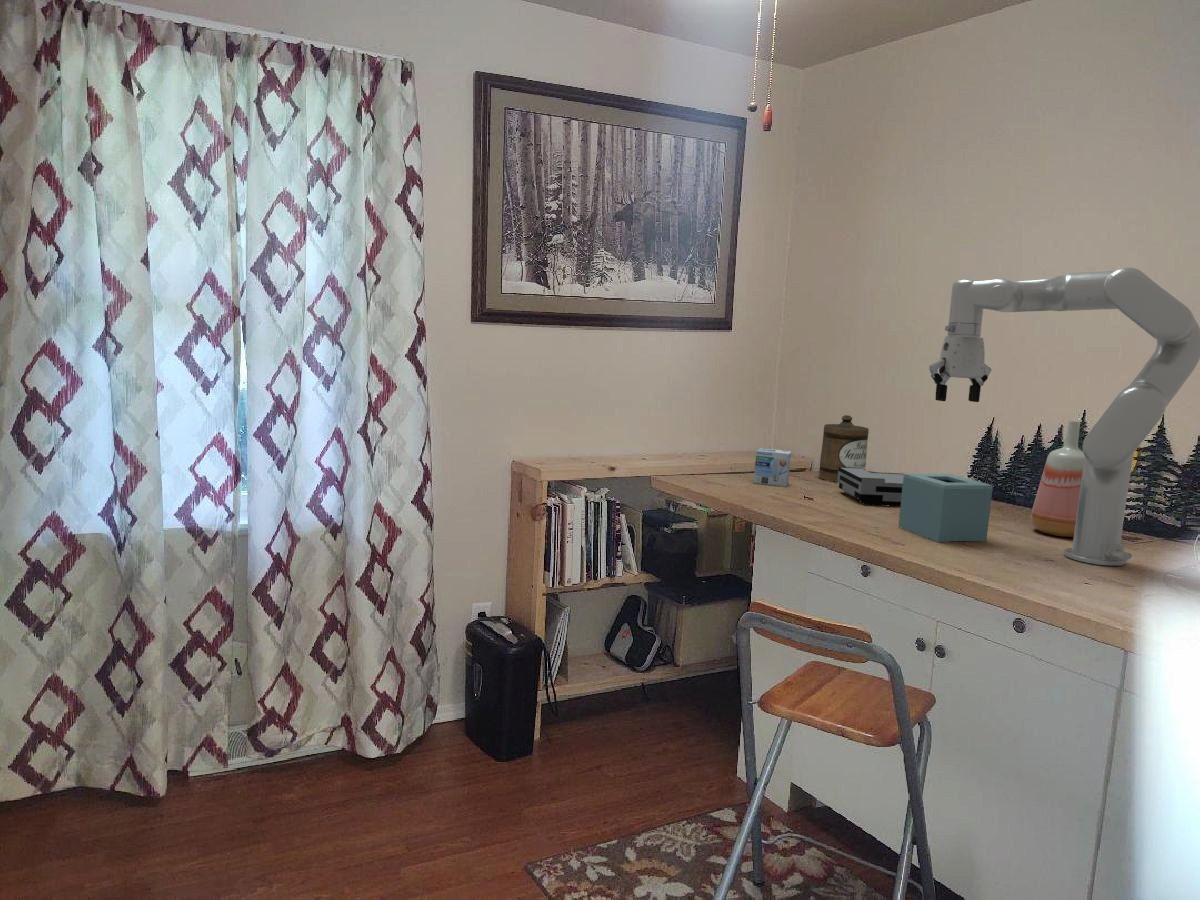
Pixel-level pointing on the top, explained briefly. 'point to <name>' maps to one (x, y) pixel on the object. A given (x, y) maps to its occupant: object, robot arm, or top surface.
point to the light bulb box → (772, 467)
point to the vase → (1060, 488)
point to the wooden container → (842, 448)
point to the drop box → (945, 507)
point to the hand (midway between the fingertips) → (957, 401)
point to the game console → (871, 486)
